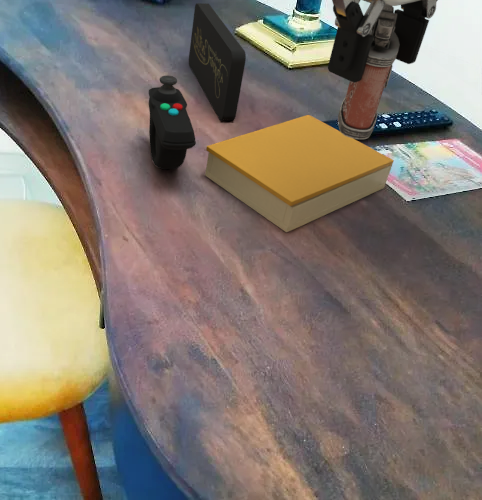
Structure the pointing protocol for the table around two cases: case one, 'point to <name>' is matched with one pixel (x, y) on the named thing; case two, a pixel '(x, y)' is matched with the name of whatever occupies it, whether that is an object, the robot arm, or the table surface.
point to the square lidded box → (299, 212)
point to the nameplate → (216, 61)
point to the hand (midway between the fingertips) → (372, 65)
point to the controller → (169, 125)
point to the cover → (299, 158)
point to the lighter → (370, 79)
